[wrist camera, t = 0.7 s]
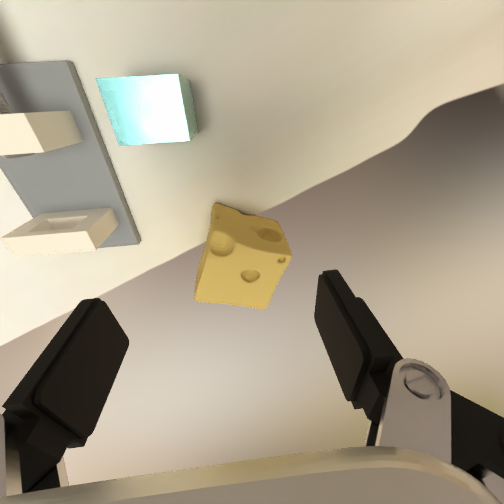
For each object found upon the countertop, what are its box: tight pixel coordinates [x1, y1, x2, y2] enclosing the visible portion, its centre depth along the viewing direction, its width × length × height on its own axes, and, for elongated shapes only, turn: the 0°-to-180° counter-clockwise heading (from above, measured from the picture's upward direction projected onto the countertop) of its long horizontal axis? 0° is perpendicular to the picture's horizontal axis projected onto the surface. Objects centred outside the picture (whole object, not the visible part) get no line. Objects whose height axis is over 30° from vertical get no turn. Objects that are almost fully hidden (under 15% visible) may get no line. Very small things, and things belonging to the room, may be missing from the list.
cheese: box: [194, 203, 292, 310], centre depth 32 cm, size 10×11×10 cm
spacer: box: [96, 74, 198, 146], centre depth 23 cm, size 5×7×7 cm
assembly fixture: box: [0, 60, 141, 257], centre depth 25 cm, size 21×12×8 cm, turn 3°
